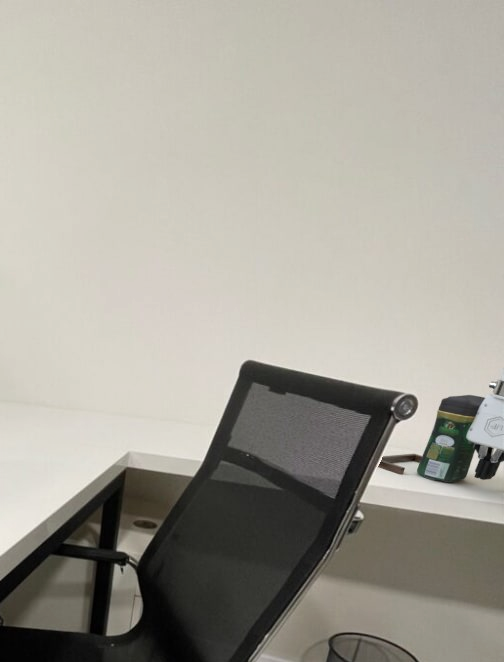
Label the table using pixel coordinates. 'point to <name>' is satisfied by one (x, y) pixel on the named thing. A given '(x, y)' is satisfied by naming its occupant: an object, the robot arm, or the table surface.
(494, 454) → the robot arm
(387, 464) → the walnut bay
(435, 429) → the coffee jar
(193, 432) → the table surface
